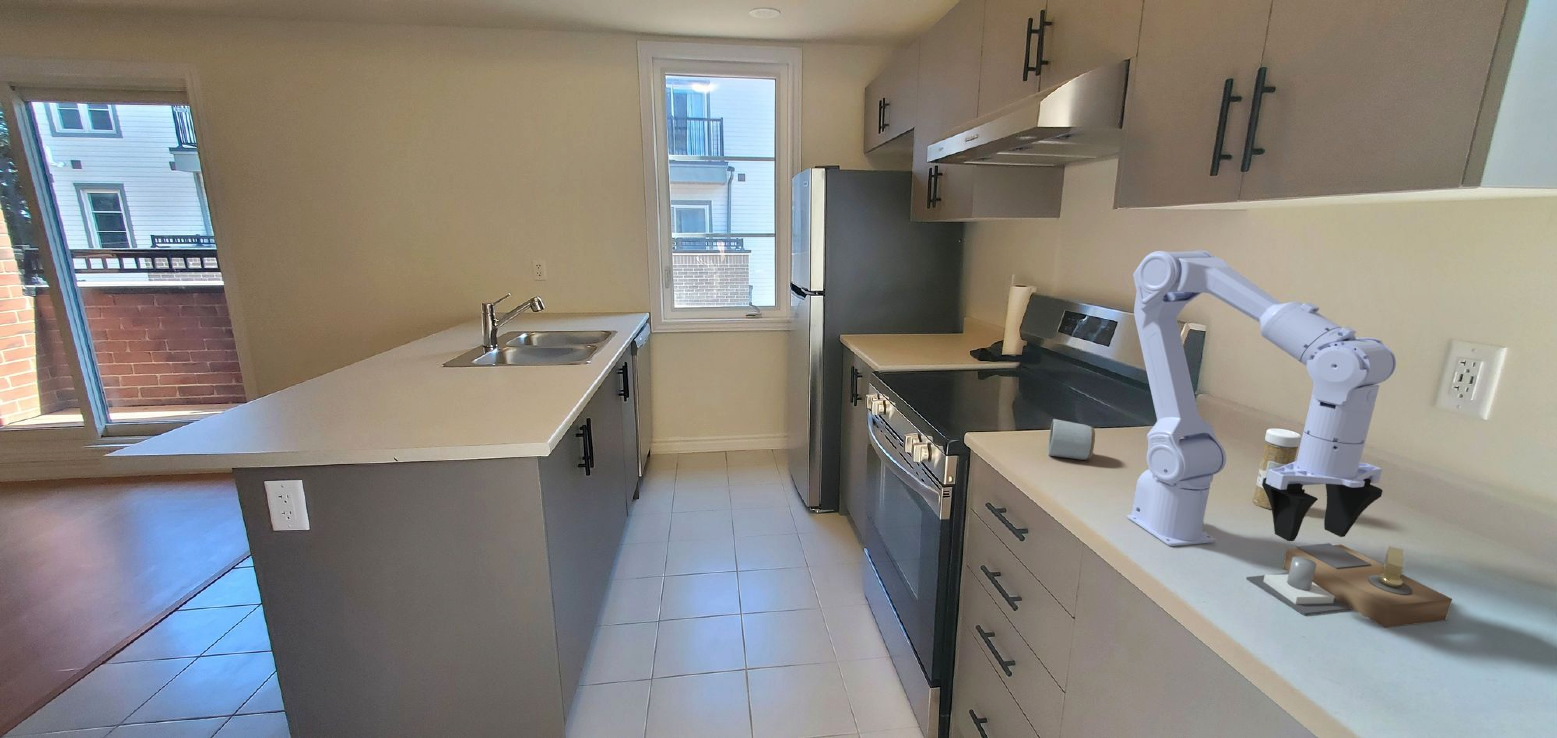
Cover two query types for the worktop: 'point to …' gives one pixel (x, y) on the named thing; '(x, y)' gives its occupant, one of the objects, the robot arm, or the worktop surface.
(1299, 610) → the mat
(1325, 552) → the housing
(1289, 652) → the worktop surface
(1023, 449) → the worktop surface
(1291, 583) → the cover
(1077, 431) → the ceramic mug
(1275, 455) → the sprinkles bottle
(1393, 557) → the lever handle
